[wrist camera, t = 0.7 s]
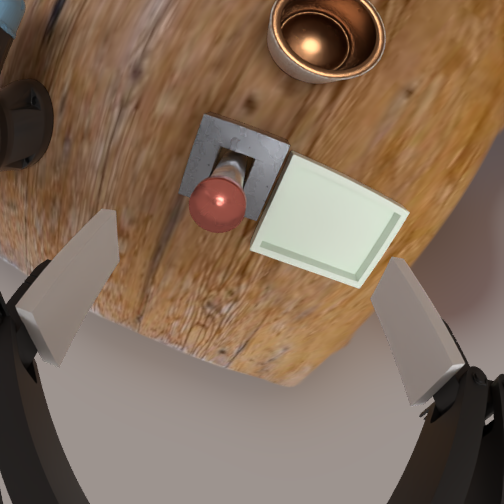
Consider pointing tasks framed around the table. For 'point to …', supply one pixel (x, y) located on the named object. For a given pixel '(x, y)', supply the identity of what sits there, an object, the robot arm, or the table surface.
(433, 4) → the table surface
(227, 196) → the red capped tube
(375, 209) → the tray
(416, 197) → the table surface
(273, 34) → the planter
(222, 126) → the block
